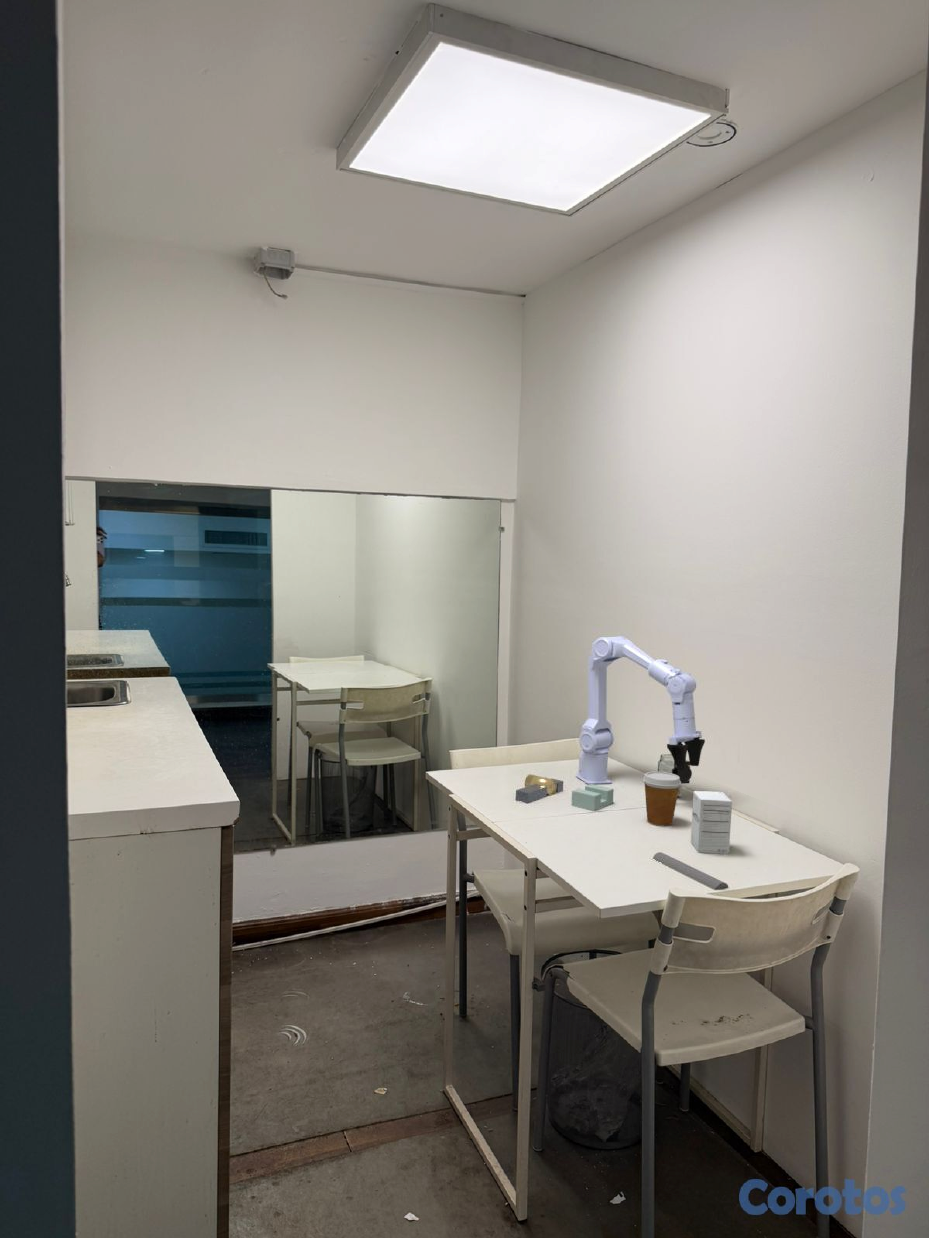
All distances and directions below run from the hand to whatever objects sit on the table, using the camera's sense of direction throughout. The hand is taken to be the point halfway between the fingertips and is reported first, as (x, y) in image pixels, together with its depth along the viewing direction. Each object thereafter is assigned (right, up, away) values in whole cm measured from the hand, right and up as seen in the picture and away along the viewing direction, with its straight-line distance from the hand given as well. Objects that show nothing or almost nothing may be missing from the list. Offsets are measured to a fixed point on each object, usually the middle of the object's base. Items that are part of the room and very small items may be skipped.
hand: (688, 767), depth 234 cm
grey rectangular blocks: (-40, -9, +5) cm, 41 cm away
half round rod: (-13, -15, -50) cm, 54 cm away
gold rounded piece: (-40, -6, +9) cm, 41 cm away
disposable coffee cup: (-11, -11, -15) cm, 22 cm away
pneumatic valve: (-2, -10, +10) cm, 14 cm away
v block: (-26, -10, -2) cm, 28 cm away
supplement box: (-4, -13, -34) cm, 37 cm away
